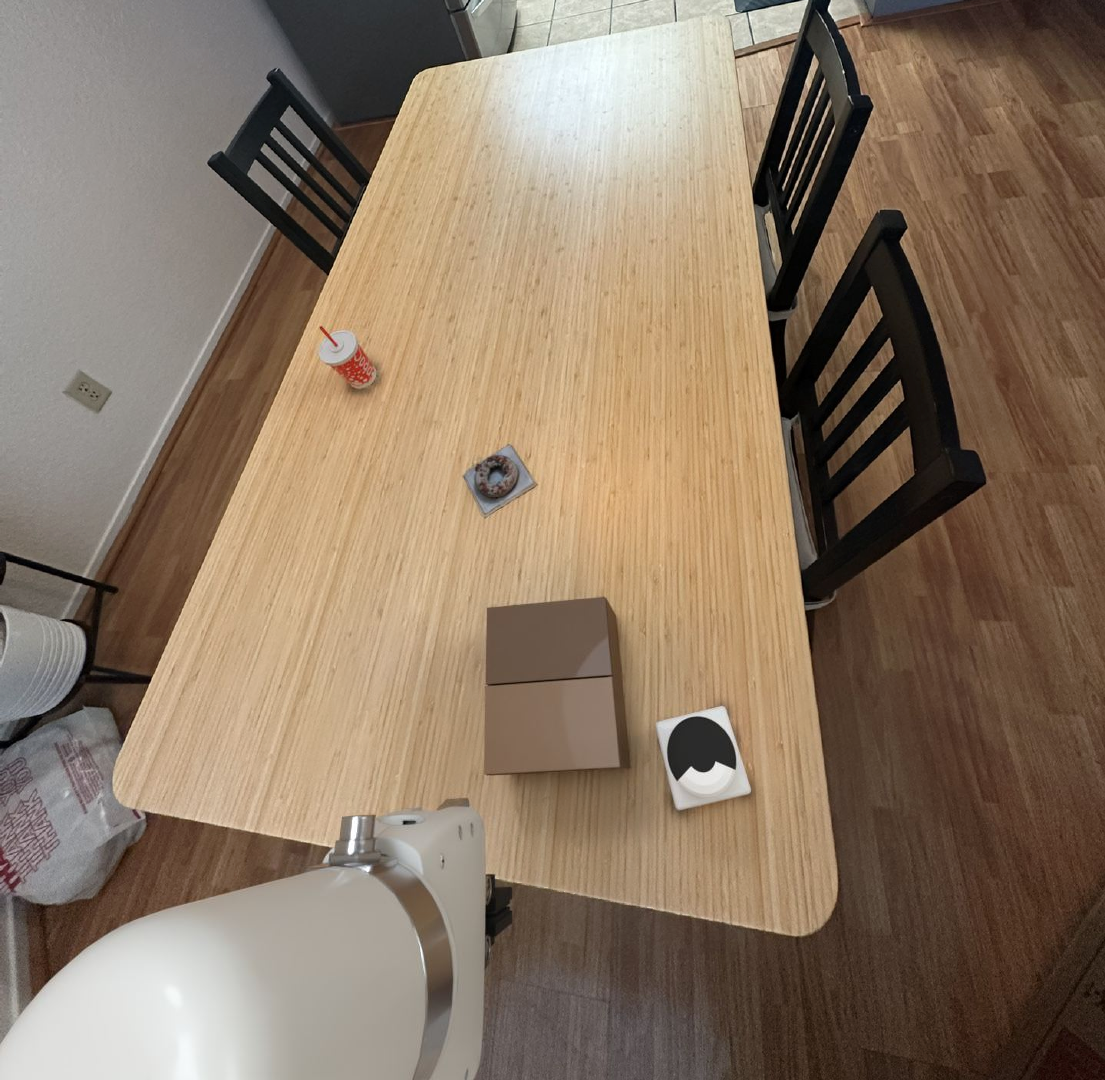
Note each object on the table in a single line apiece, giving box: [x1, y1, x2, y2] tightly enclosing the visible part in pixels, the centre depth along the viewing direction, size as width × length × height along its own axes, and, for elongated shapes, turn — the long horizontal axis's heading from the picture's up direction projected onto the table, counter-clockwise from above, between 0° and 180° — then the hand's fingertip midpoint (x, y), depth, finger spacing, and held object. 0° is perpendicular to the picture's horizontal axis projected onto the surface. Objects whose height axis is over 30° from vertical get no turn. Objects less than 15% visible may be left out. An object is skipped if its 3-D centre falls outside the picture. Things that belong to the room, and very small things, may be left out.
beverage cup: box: [318, 325, 377, 390], centre depth 96 cm, size 6×6×14 cm
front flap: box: [483, 677, 620, 776], centre depth 60 cm, size 7×13×1 cm, turn 92°
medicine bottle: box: [654, 705, 752, 811], centre depth 60 cm, size 7×7×12 cm
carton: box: [485, 596, 632, 776], centre depth 66 cm, size 15×13×10 cm
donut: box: [462, 444, 538, 519], centre depth 86 cm, size 8×8×2 cm
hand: (487, 904), depth 37 cm, fingers closed
